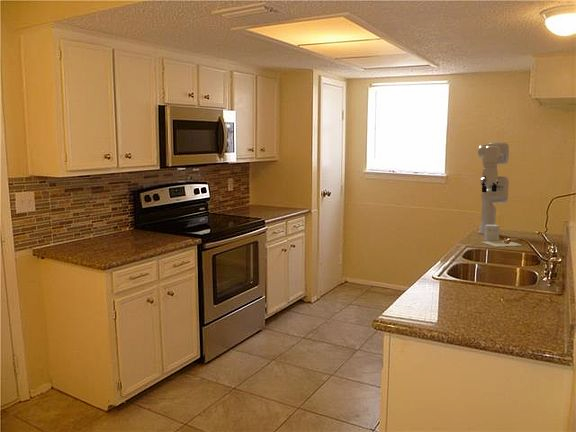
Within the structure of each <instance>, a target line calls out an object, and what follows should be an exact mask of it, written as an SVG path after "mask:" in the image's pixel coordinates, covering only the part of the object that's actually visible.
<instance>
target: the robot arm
mask: <svg viewBox="0 0 576 432" xmlns="http://www.w3.org/2000/svg"><path fill="white" fill-rule="evenodd" d="M477 155H478V157H479V158H481V162H482V168H483V169H482V174H481V178H480V185H481V193H480V194H481V195H480V197H481V217H480V219H481V220H480V226H478V229H479V230H478V231H477V232H478V234H481V235H484V231H485V225H496V222H497V221H496V219H497V208H496V206H495V203H496V204H505V203H507V202H508V199H509V186H510V185H509V183H510V182H509V178H508V177H506V176H501V175H500V176H499V175H498V172H499V171H498V165H506V164H508V162H509V160H510V159H509V156H510V146H509V144H508V143H507V142H502V141H500V142H490V143H488V144H482V145H479V147H478V148H477Z"/></svg>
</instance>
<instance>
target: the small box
mask: <svg viewBox="0 0 576 432" xmlns="http://www.w3.org/2000/svg"><path fill="white" fill-rule="evenodd" d="M483 236H484V237H483V240H484V242H486V241H500V225H498V224H495V225H485V231H484V234H483Z"/></svg>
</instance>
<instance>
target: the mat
mask: <svg viewBox="0 0 576 432" xmlns="http://www.w3.org/2000/svg"><path fill="white" fill-rule="evenodd" d="M504 241H505V240H499V241H481V242H480V243H482V244H484V245H488V246H491V247H494V248H509V247H523V246H524V245H523V244H520V243H517V242H513V241H511V242H510V243H509V244H505V243H504ZM506 246H508V247H506Z"/></svg>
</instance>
